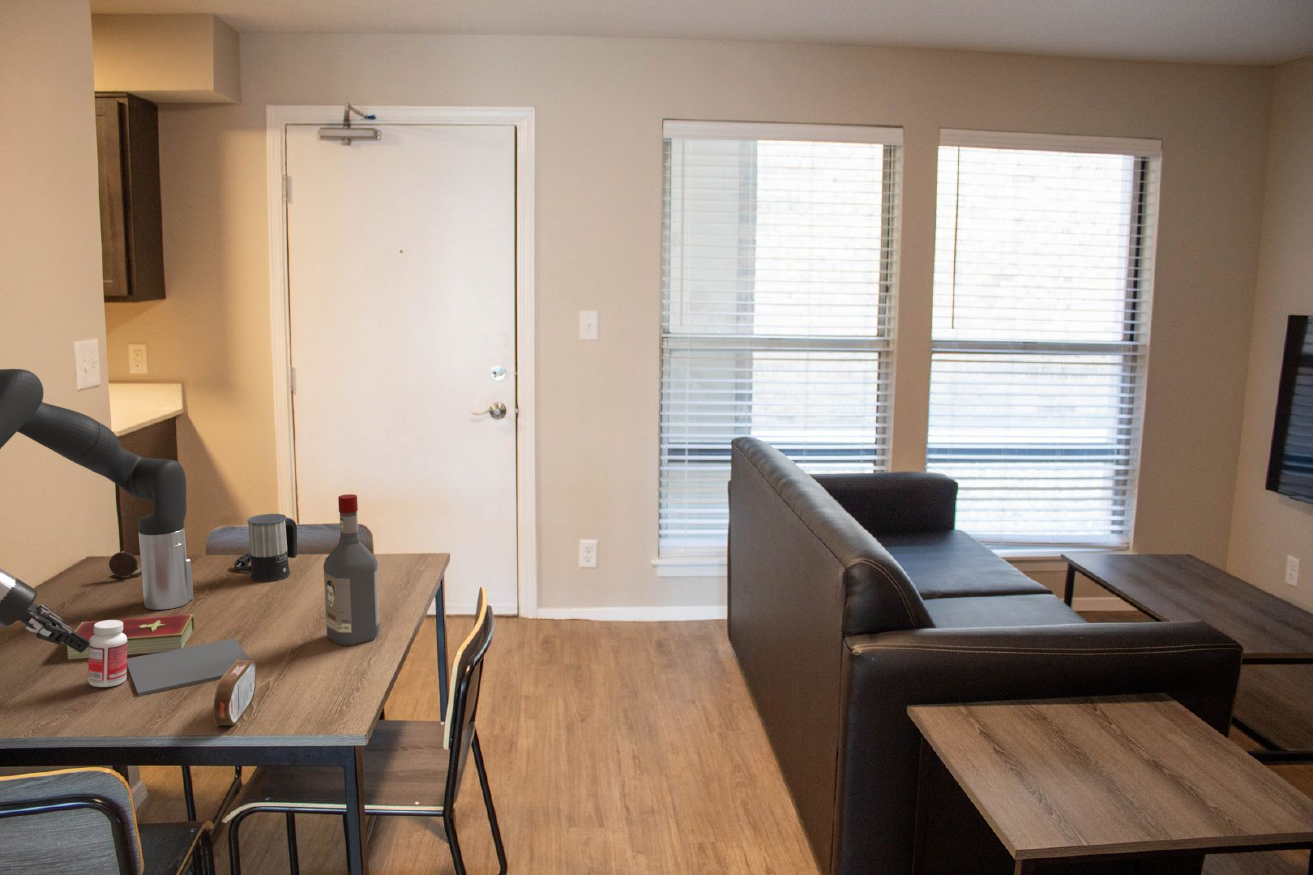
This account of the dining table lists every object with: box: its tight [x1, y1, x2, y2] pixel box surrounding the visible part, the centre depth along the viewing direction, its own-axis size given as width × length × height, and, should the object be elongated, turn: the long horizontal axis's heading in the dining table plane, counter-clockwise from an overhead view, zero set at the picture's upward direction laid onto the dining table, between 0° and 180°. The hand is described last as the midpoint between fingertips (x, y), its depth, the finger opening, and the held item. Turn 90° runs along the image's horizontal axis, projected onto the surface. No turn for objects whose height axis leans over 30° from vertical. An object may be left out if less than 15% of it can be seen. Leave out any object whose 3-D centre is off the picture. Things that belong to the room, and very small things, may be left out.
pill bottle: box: [87, 619, 128, 688], centre depth 180 cm, size 6×6×11 cm
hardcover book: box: [63, 614, 195, 660], centre depth 199 cm, size 12×21×4 cm, turn 105°
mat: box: [127, 637, 251, 697], centre depth 189 cm, size 20×18×1 cm
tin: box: [213, 659, 257, 727], centre depth 169 cm, size 15×3×8 cm, turn 5°
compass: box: [105, 550, 142, 579], centre depth 240 cm, size 8×8×7 cm
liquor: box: [323, 493, 381, 647], centre depth 202 cm, size 9×9×30 cm
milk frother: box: [233, 513, 298, 583], centre depth 244 cm, size 14×16×15 cm
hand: (85, 647), depth 178 cm, fingers closed
